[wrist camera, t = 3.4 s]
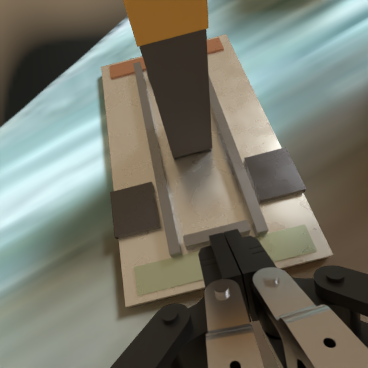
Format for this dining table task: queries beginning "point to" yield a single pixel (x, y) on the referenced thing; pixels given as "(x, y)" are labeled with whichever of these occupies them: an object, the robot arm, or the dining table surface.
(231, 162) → the board
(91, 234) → the dining table surface
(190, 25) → the handle
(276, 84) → the dining table surface
